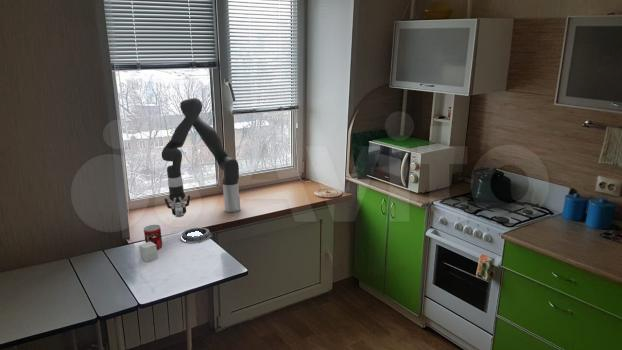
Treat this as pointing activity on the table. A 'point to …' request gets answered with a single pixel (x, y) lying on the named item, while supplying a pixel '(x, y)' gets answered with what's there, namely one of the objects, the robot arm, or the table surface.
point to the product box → (148, 251)
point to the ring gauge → (200, 238)
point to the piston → (178, 209)
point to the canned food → (153, 235)
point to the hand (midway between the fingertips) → (179, 214)
